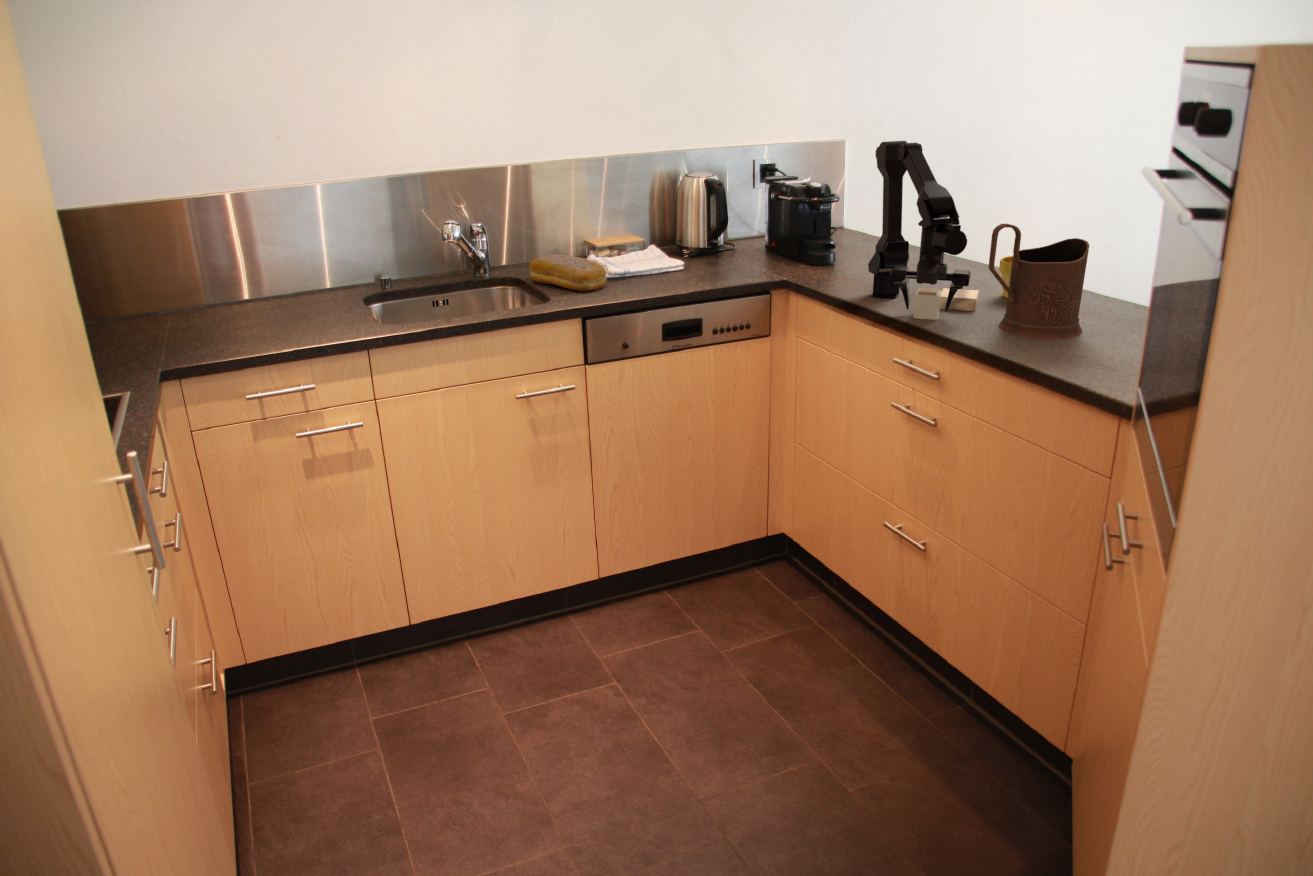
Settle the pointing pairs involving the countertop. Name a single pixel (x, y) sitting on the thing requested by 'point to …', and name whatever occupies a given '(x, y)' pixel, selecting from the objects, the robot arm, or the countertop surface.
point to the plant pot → (1005, 271)
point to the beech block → (960, 299)
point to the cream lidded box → (927, 303)
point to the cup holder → (1043, 288)
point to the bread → (568, 272)
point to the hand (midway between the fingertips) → (926, 310)
